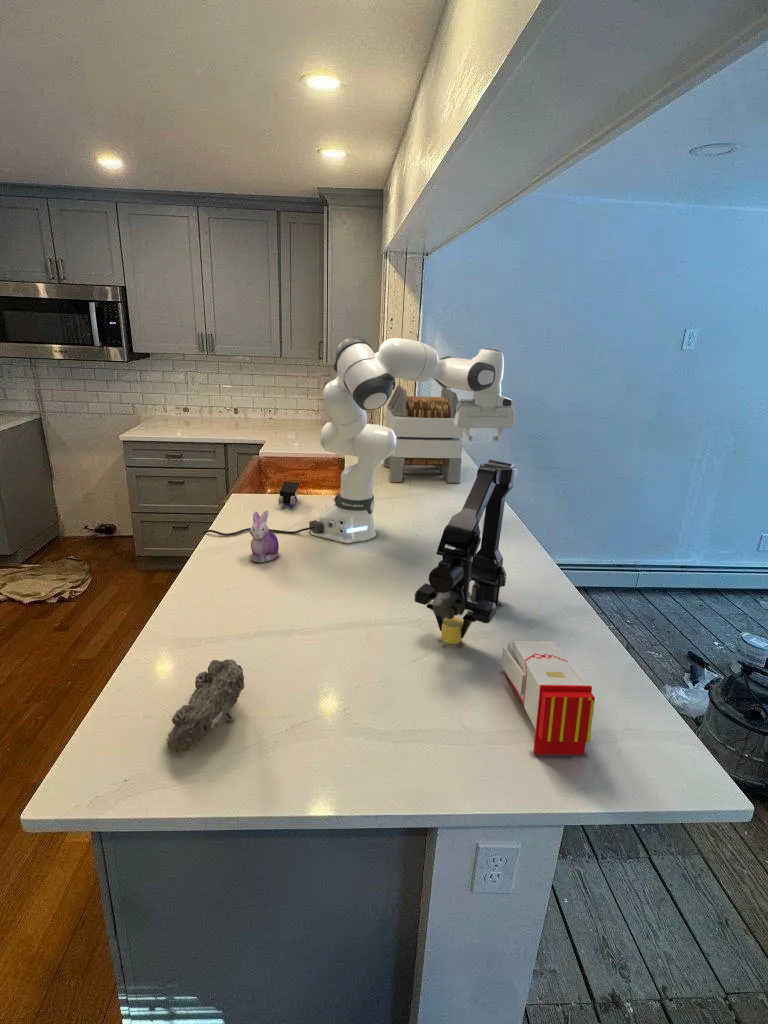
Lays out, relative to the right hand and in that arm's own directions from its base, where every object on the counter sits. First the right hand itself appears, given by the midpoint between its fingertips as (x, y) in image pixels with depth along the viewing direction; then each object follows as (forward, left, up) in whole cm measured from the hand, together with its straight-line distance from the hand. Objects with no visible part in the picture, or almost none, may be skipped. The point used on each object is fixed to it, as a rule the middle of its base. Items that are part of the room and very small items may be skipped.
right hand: (452, 633), depth 136 cm
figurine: (+40, -56, -2) cm, 69 cm away
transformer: (-40, -142, -2) cm, 147 cm away
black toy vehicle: (+27, -105, -2) cm, 108 cm away
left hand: (-34, -63, +32) cm, 79 cm away
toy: (-8, +26, -2) cm, 27 cm away
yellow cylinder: (0, 0, -1) cm, 1 cm away
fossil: (+55, +15, -2) cm, 57 cm away
